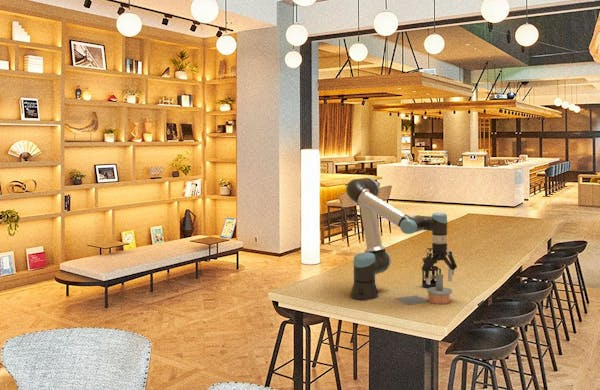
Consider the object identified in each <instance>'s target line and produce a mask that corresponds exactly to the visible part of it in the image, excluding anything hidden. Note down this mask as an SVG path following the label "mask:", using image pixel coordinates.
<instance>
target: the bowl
mask: <svg viewBox="0 0 600 390" xmlns="http://www.w3.org/2000/svg"><path fill="white" fill-rule="evenodd" d="M427 294H428V297H427V298H428V299H427V300H428V301H430V302H429V303H432V304H438V305H447V304H449V303H450V302H451V294H448V295H435V294H430V293H428V292H427Z"/></svg>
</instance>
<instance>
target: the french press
mask: <svg viewBox="0 0 600 390" xmlns="http://www.w3.org/2000/svg"><path fill="white" fill-rule="evenodd" d="M426 250H428V251H429V253H432V251H433V250H432V247H427V248H426ZM426 257H427V256H426ZM426 257H423V258H422V263H424V262H425V260H426ZM432 257H433V256H432ZM432 257H431V259H432ZM430 261H431V260H430ZM429 263H430V262H429ZM436 264H438V261H437V262H435V264H434V265H433V266H432V268H431V269H430V271H429V272H431V273H430V285H429V284H426V278H425V271H423V270H422V269H421V271H422V278H421V279H422V280H421V288H423V289H428V288H431V287H436V274H442V268H439V267H438V266H437V265H436ZM422 267H423V265H422V266H421V268H422Z"/></svg>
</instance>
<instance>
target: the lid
mask: <svg viewBox="0 0 600 390" xmlns="http://www.w3.org/2000/svg"><path fill="white" fill-rule="evenodd" d="M435 276H436V279H435V281H436V287H431V288H426V292H427V294H428V293H430V294H435V295H448V294H450V295H451V294H452V292H453V291H452V290H453V289H451V288H449V287H444V275H443V274H442V273H441V274H439V273H438V274H436V273H435Z"/></svg>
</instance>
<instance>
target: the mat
mask: <svg viewBox="0 0 600 390" xmlns="http://www.w3.org/2000/svg"><path fill="white" fill-rule="evenodd" d="M393 299H395V300H396V301H399V302H400V303H402V304H405V305H407V306H411V305H419V304H426V303H431V302H430V301H428V299H425V298H423V297H421V296H418V295H409V296H402V297H394V298H393Z"/></svg>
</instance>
